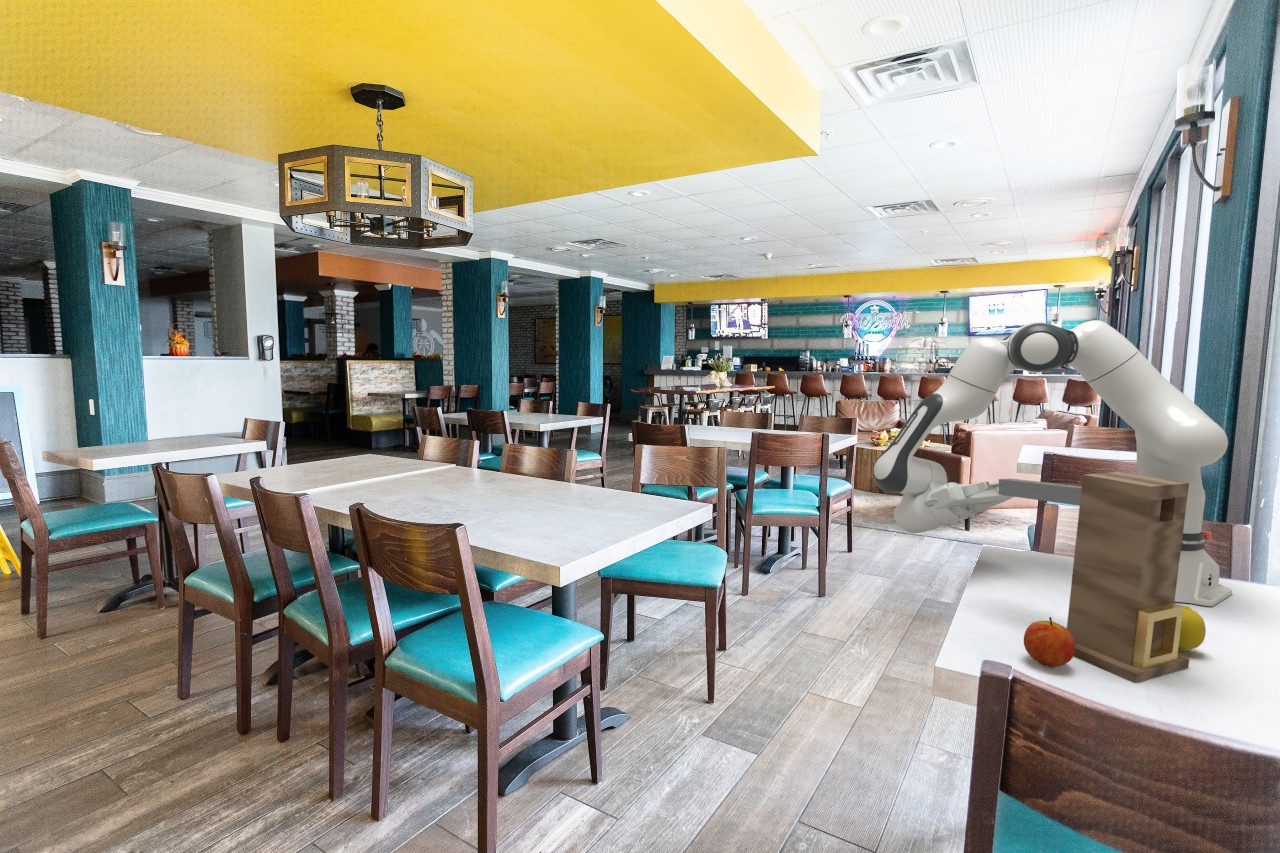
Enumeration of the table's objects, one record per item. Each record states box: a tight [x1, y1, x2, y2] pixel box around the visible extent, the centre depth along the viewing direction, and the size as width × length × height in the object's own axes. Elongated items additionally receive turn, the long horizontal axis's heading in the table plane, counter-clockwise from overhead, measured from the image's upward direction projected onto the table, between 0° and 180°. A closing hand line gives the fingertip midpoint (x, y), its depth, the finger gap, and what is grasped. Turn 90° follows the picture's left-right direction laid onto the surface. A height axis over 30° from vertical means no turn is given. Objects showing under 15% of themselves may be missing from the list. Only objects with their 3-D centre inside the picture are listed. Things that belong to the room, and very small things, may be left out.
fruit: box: [1023, 616, 1075, 668], centre depth 102 cm, size 7×7×8 cm
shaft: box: [998, 478, 1082, 507], centre depth 112 cm, size 3×24×3 cm, turn 23°
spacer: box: [1132, 602, 1185, 670], centre depth 100 cm, size 9×2×9 cm, turn 113°
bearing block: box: [1066, 471, 1190, 684], centre depth 104 cm, size 14×14×30 cm
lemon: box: [1178, 605, 1207, 652], centre depth 108 cm, size 6×6×8 cm
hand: (1002, 483), depth 136 cm, fingers open, 8 cm apart
